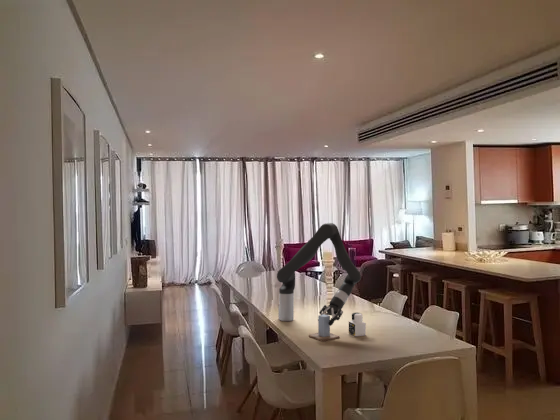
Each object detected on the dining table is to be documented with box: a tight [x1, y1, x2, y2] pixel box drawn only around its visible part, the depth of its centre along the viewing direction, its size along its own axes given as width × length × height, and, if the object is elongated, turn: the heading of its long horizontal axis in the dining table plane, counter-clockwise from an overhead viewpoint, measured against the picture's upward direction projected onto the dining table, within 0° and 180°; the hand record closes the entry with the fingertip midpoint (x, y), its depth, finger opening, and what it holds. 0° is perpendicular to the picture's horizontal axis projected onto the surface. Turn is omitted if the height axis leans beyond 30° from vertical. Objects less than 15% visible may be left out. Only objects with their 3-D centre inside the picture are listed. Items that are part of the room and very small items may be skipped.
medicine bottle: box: [348, 312, 367, 337], centre depth 257 cm, size 7×7×12 cm
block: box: [317, 314, 331, 337], centre depth 251 cm, size 4×4×11 cm
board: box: [308, 332, 340, 343], centre depth 251 cm, size 12×12×1 cm
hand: (324, 323), depth 251 cm, fingers open, 8 cm apart
